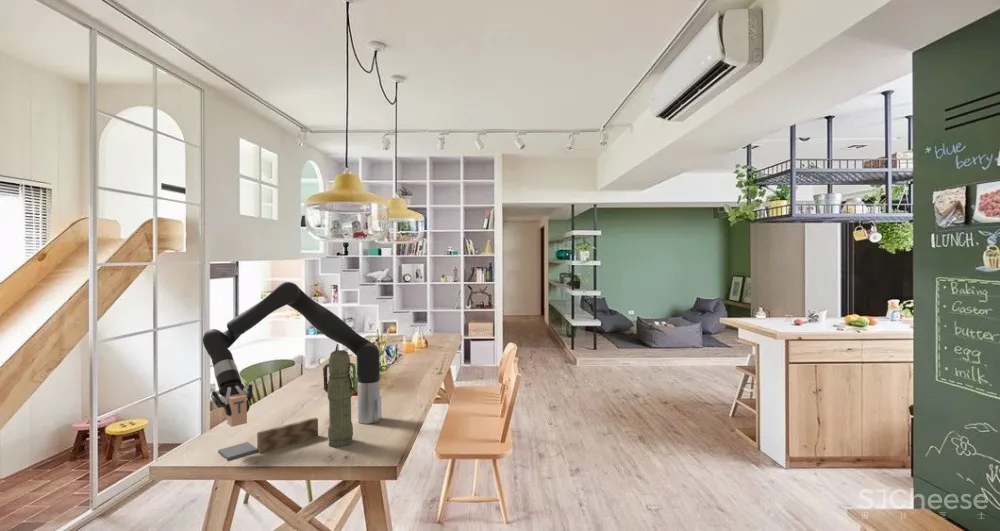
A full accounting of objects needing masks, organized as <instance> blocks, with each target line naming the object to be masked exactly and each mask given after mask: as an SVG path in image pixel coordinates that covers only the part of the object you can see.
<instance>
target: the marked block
mask: <svg viewBox="0 0 1000 531" xmlns="http://www.w3.org/2000/svg"><path fill="white" fill-rule="evenodd" d="M244 394H245V393H244ZM244 394H236V395H231V396H229V397H228V402H229V403H228V405H230V409H231V412H232V414H231V416H228V415H226V421H227V422H226V424H228V426H230V427H231V428H232V427H237V426H241V425H246V424H247V423H248V418H247V417H248V414H247V413H248V412H247V398H246V397H247V395H246V394H245V395H244Z"/></svg>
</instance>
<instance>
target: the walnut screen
mask: <svg viewBox="0 0 1000 531" xmlns="http://www.w3.org/2000/svg"><path fill="white" fill-rule="evenodd" d="M256 434H257V435H256V441H257V442H256V443H257V447H256V448H257V449H258V452H257V453H259V454H261V453H262V454H263V453H265V452H269V451H273V450H276V449H279V448H282V447H285V446H289V445H292V444H296V443H300V442H303V441H307V440H311V439H314V438H316V436H317V437H319V418H318V417H316V416H315V417H312V418H308V419H305V420H300V421H297V422H293V423H289V424H285V425H282V426H277V427H274V428H270V429H267V430H263V431H258V432H257V433H256Z"/></svg>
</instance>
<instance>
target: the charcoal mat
mask: <svg viewBox="0 0 1000 531" xmlns="http://www.w3.org/2000/svg"><path fill="white" fill-rule="evenodd" d="M217 451H218V452H217V453H218V454H219V455H220V456H222V458H224V459H225V458H226V459H227V460H226V459H225V460H226V461H230V460H229V459H231V460H234V459H237V457H238V458H240V456H241V457H244V455H245V456H248V455H252V454H255V453H259V452H258V449H257V447H255V446H254V445H253V444H251V443H250V442H248V441H246V442H243V443H239V444H235V445H231V446H228V447H224V448H220V449H218V450H217ZM233 458H234V459H233Z"/></svg>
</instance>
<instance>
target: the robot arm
mask: <svg viewBox="0 0 1000 531" xmlns="http://www.w3.org/2000/svg"><path fill="white" fill-rule="evenodd" d="M285 306H288V307H290V308H292V309H293V310H295V311H296V312H298V313H299V314H300V315H302V316H303V317H304V318H305V320H307V322H309V324H310V325H312V326H313V328H315V329H316V330H317V331H319V333H321V334H322V335H323V336H325V337H327V338H328V339H330V340H331V341H334V342H336V343H338V344H340V345H342V346H344V347H346V348H347V349H348V350H350V351H351V352H352V353H353V355H355V356H356V368H357V369H356V373H357V374H356V375H357V376H356V377H357V413H358V414H357V420H358V421H359V422H360V424H367V425H368V424H375V423H378V422H380V421H381V419H382V415H383V414H382V396H381V390H380V389H381V384H380V382H381V380H380V378H381V377H380V375H381V373H380V372H381V371H380V360H381V359H380V350H379V347H378V346H377V345H376V344H375V343H373V342H372V341H370V340H368V339H366V338H364V337H363V336H362V335H360V334H359V333H357V332H356V331H355V330H354V329H353V328H352V327H350V325H349V324H347V323H346V322H345V321H344V320H342V319H341V318H340V317H339V316H337V315H336V314H335V313H333V312H332V311H331V310H330V309H328V308H327V307H325V306H323V305H322V304H320V303H318V302H316V301H315V300H313V299H312V298H311V297H309V296H308V295H307V294H306V292H304V291H303V290H302V289H301V288H300V287H299V286H298V285H297V284H296V283H294V282H290V281H285V282H281V283H279V284H278V285H277V287H276V288H275V289H274V290H272V292H270V294H268V295H267V296H265V298H263V299H262V300H260V301H259V302H257V303H256V304H254V305H253V306H252V307H250V308H248V309H246V310H245V311H243V312H241V313H240V314H238V315H237V316H236V317H233V319H231V320H229V321H228V322H227V323H226V328H227V330H226V331H225V332H222V331H221V330H220V329H216V328H211V329H209V330H207V331H205V332H204V335H203V337H202V344H203V346H204V348H205V351H206V352H207V354H208V356H209V357H210V360H211V363H212V367H213V371H214V372H213V373H214V377H215V380H216V383H217V387H218V390H217V391H215V390H214V391H212V392H211V395H210V398H211V399H212V401H213V403H214V404H215V405H216V407H217V408H218V409H221V408H222V409H224V412H225V416H227V415H228V416H231V414H232V412H231V409H230V405H228V403H229V402H228V397H229V396H231V395H236V394H244V395H246V394H247V395H246V398H247V413H248V412H249V411H250V404H249V403H250V402H251V401H252V398H253V384H249V385H244V383H242V380H241V376H240V372H239V370H238V367H237V364H236V363H235V360H234V356H233V354H232V352H231V350H230V349H229V348H230V347H232V346H233V344H234V343H235V342H236V341H238V339H239V338H240V337H241V336H242V335H244V334H245V333H247V332H248V331H249V330H251V329H252V328H254V327H255V326H257V325H258V324H259V323H260V322H261V321H263V320H264V319H265V318H267V316H269V315H270V314H272V313H273V312H275V311H277V310H278V309H280V308H283V307H285ZM244 391H245V392H246V394H245V393H244ZM220 396H222V397H223V398H224V399H223V400H222V399H221V397H220ZM359 422H358V423H359Z"/></svg>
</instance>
